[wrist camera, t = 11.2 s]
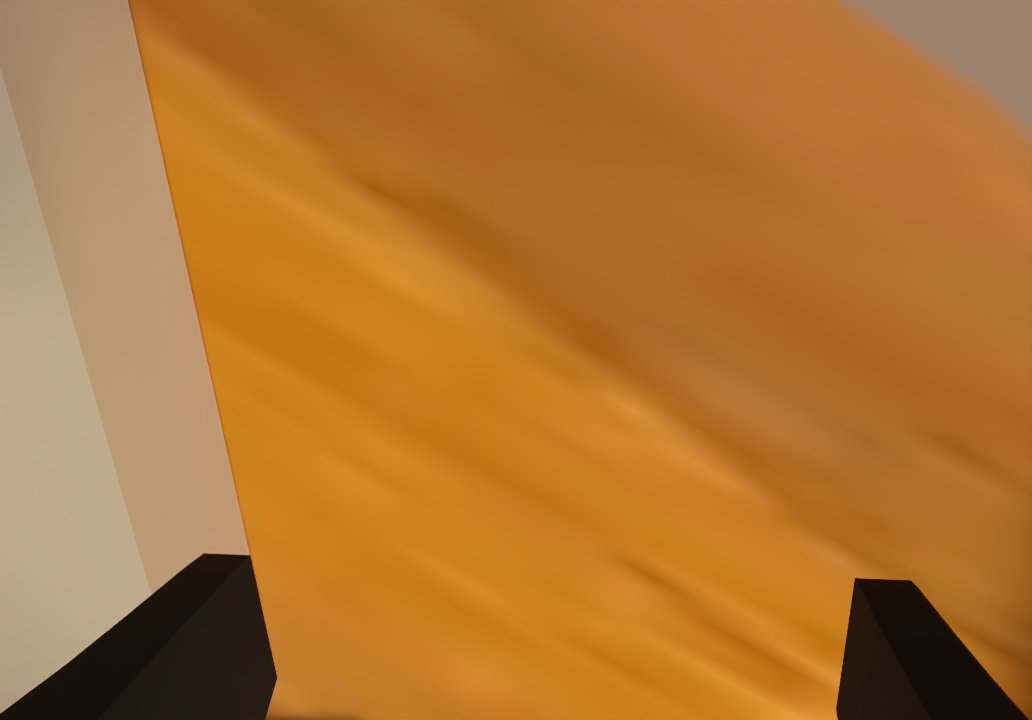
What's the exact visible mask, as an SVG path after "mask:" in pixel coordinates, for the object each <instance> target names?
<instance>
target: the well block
mask: <svg viewBox="0 0 1032 720" xmlns="http://www.w3.org/2000/svg"><path fill="white" fill-rule="evenodd" d="M203 553H208V554H234V555H250V554H249V549H248V545H247V540H246V535H245V531H244V526H243V522H242V517H241V513H240V508H239V504H238V499H237V495H236V490H235V485H234V481H233V476H232V472H231V467H230V463H229V458H228V454H227V449H226V445H225V440H224V435H223V431H222V426H221V422H220V417H219V413H218V408H217V404H216V399H215V395H214V390H213V385H212V381H211V376H210V372H209V367H208V363H207V358H206V354H205V349H204V345H203V340H202V335H201V331H200V326H199V322H198V317H197V313H196V308H195V304H194V299H193V295H192V290H191V285H190V281H189V276H188V272H187V267H186V263H185V258H184V254H183V249H182V244H181V240H180V235H179V231H178V226H177V222H176V217H175V213H174V208H173V204H172V199H171V194H170V190H169V185H168V181H167V176H166V172H165V167H164V163H163V158H162V154H161V149H160V144H159V140H158V135H157V131H156V126H155V122H154V117H153V113H152V108H151V104H150V99H149V94H148V90H147V85H146V81H145V76H144V72H143V67H142V63H141V58H140V54H139V49H138V44H137V40H136V35H135V31H134V26H133V22H132V17H131V13H130V8H129V4H128V0H0V713H1V712H3V711H4V710H6V709H7V708H8V707H10V706H11V705H12V704H14V703H15V702H16V701H18V700H19V699H20V698H22V697H23V696H24V695H26V694H27V693H28V692H30V691H31V690H32V689H34V688H35V687H36V686H38V685H39V684H40V683H42V682H43V681H44V680H46V679H47V678H48V677H50V676H51V675H52V674H54V673H55V672H57V671H58V670H59V669H61V668H62V667H63V666H64V665H66V664H67V663H68V662H69V661H71V660H72V659H73V658H74V657H76V656H77V655H78V654H79V653H81V652H82V651H83V650H84V649H86V648H87V647H88V646H89V645H91V644H92V643H93V642H94V641H96V640H97V639H98V638H99V637H100V636H102V635H103V634H104V633H105V632H107V631H108V630H109V629H110V628H112V627H113V626H114V625H115V624H117V623H118V622H119V621H120V620H122V619H123V618H124V617H125V616H126V615H128V614H129V613H130V612H131V611H132V610H134V609H135V608H136V607H137V606H139V605H140V604H141V603H142V602H143V601H145V600H146V599H147V598H148V597H149V596H151V595H152V594H153V593H154V592H155V591H157V590H158V589H159V588H160V587H162V586H163V585H164V584H165V583H166V582H168V581H169V580H170V579H171V578H173V577H174V576H175V575H176V574H177V573H179V572H180V571H181V570H182V569H184V568H185V567H186V566H188V565H189V564H190V563H191V562H193V561H194V560H195V559H197V558H198V557H199V556H201V555H202V554H203Z"/></svg>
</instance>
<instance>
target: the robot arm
mask: <svg viewBox="0 0 1032 720" xmlns="http://www.w3.org/2000/svg"><path fill="white" fill-rule="evenodd" d="M276 680H277V675H276V670H275V666H274V661H273V657H272V652H271V648H270V643H269V639H268V634H267V629H266V625H265V620H264V616H263V611H262V607H261V602H260V598H259V593H258V588H257V584H256V579H255V575H254V570H253V566H252V561H251V557H250V555H234V554H208V553H203V554H202V555H201V556H199V557H198V558H197V559H195V560H194V561H193V562H191V563H190V564H189V565H188V566H186V567H185V568H184V569H182V570H181V571H180V572H179V573H177V574H176V575H175V576H174V577H173V578H171V579H170V580H169V581H168V582H166V583H165V584H164V585H163V586H162V587H160V588H159V589H158V590H157V591H155V592H154V593H153V594H152V595H151V596H149V597H148V598H147V599H146V600H145V601H143V602H142V603H141V604H140V605H139V606H137V607H136V608H135V609H134V610H132V611H131V612H130V613H129V614H128V615H126V616H125V617H124V618H123V619H122V620H120V621H119V622H118V623H117V624H115V625H114V626H113V627H112V628H110V629H109V630H108V631H107V632H105V633H104V634H103V635H102V636H100V637H99V638H98V639H97V640H96V641H94V642H93V643H92V644H91V645H89V646H88V647H87V648H86V649H84V650H83V651H82V652H81V653H79V654H78V655H77V656H76V657H74V658H73V659H72V660H71V661H69V662H68V663H67V664H66V665H64V666H63V667H62V668H61V669H59V670H58V671H57V672H55V673H54V674H52V675H51V676H50V677H48V678H47V679H46V680H44V681H43V682H42V683H40V684H39V685H38V686H36V687H35V688H34V689H32V690H31V691H30V692H28V693H27V694H26V695H24V696H23V697H22V698H20V699H19V700H18V701H16V702H15V703H14V704H12V705H11V706H10V707H8V708H7V709H6V710H4V711H3V712H1V713H0V720H265V718H266V714H267V711H268V708H269V704H270V701H271V697H272V694H273V690H274V687H275V684H276ZM836 710H837V717H838V720H1029V719H1028V718H1027V717H1026V716H1025V715H1024V714H1023V712H1022V711H1021V710H1020V709H1019V708H1018V707H1017V706H1016V705H1015V704H1014V702H1013V701H1012V700H1011V699H1010V698H1009V697H1008V696H1007V695H1006V694H1005V692H1004V691H1003V690H1002V689H1001V688H1000V687H999V685H998V684H997V683H996V682H995V681H994V680H993V678H992V677H991V676H990V675H989V674H988V673H987V671H986V670H985V669H984V668H983V667H982V665H981V664H980V663H979V662H978V661H977V659H976V658H975V657H974V656H973V655H972V653H971V652H970V651H969V650H968V649H967V647H966V646H965V645H964V644H963V643H962V641H961V640H960V639H959V638H958V637H957V635H956V634H955V633H954V632H953V630H952V629H951V628H950V627H949V625H948V624H947V623H946V622H945V620H944V619H943V618H942V617H941V616H940V614H939V613H938V612H937V611H936V609H935V608H934V607H933V606H932V604H931V603H930V602H929V601H928V599H927V598H926V597H925V596H924V594H923V593H922V592H921V591H920V589H919V588H918V587H917V586H916V585H915V584H914V583H913V582H912V581H909V580H883V579H857V578H855V582H854V589H853V596H852V603H851V610H850V617H849V624H848V631H847V638H846V645H845V651H844V658H843V665H842V672H841V679H840V686H839V693H838V700H837V707H836Z"/></svg>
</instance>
